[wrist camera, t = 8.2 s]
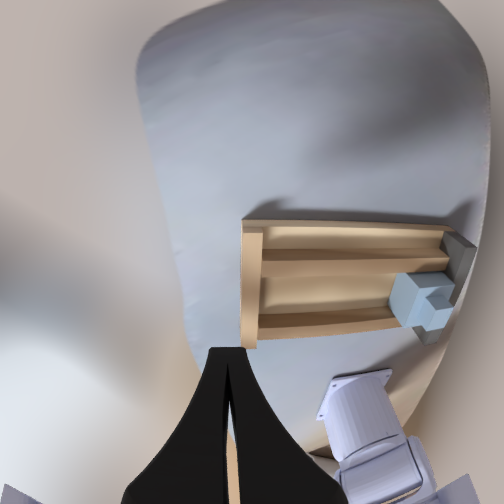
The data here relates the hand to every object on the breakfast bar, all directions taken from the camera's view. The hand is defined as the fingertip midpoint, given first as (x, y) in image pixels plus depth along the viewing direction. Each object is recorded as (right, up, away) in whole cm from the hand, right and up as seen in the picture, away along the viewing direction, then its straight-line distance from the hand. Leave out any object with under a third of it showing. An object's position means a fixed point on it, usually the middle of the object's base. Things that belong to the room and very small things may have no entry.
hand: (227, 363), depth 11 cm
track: (+9, +2, +11) cm, 15 cm away
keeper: (+15, +2, +11) cm, 18 cm away
